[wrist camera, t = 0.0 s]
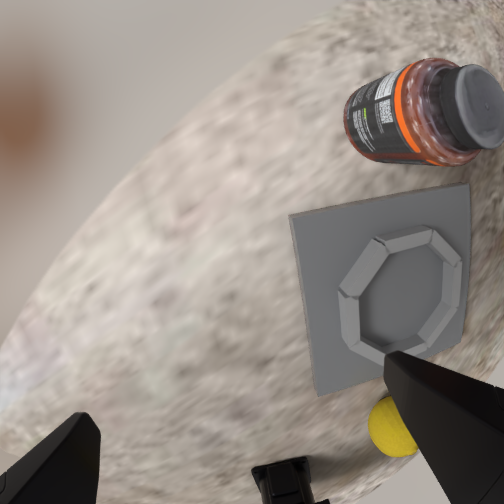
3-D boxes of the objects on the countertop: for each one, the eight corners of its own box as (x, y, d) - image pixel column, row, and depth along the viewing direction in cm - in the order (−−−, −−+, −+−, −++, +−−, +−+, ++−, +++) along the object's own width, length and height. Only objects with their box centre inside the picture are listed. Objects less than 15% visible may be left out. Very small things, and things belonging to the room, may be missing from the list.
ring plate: (454, 336, 27) (468, 349, 24) (314, 388, 26) (322, 407, 24) (460, 182, 22) (480, 185, 20) (288, 215, 22) (297, 222, 19)
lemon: (409, 376, 28) (448, 425, 20) (395, 413, 29) (426, 461, 21) (364, 385, 27) (398, 442, 19) (352, 422, 28) (378, 477, 21)
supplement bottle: (420, 137, 21) (532, 138, 10) (369, 178, 21) (479, 199, 11) (381, 72, 19) (484, 31, 8) (324, 109, 20) (417, 70, 9)
